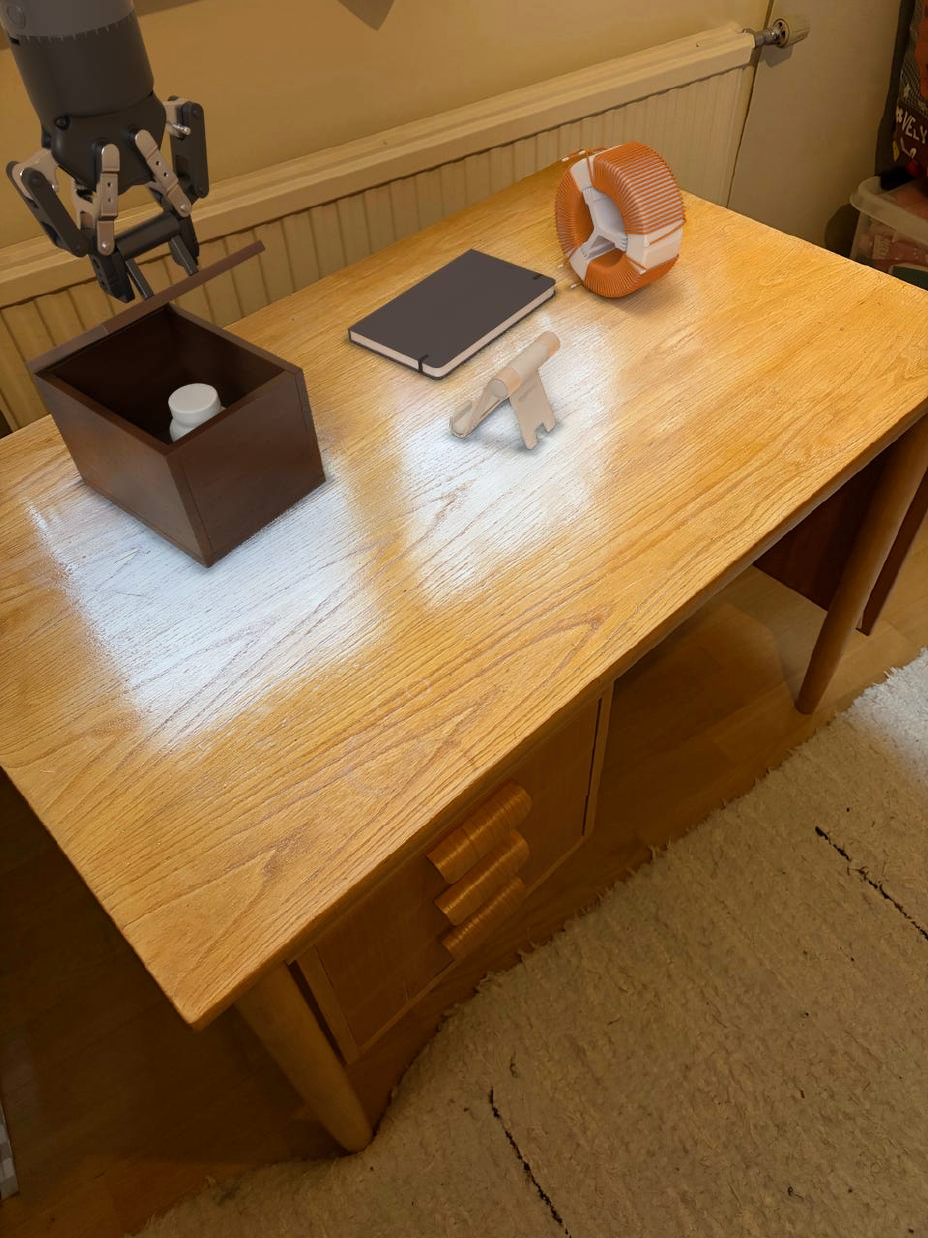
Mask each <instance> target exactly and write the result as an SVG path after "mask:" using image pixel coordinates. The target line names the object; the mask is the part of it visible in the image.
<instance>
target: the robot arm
mask: <svg viewBox="0 0 928 1238" xmlns="http://www.w3.org/2000/svg"><path fill="white" fill-rule="evenodd" d="M0 25H1V28H2V30H3V32H4V36H5V39H6V41H7V44H8V47H9V49H10V51H11V55H12V57H13V60H14V62H15V66H16V67H17V70H18V72H19V75H20V78H21V80H22V83H23V87H24V89H25V91H26V94H27V96H28V99H29V101H30V103H31V106H32V108H33V109H34V111H35V113H36V116H37V118H38V120H39V123H40V145H41V149H39V150H38V151H36V152H35V153H33V154H32V155H31V156H30V157H29V158H27V159H25V161H23V162H20V161H19V160H11V161H9V162H8V163H7V164H6V166H5V174H6V176H7V178H8V179H9V181H10V183H11V184H12V186H13V187H14V188H15V190H16V191H17V193H18V195H19V196H20V197H21V199H22V200H23V202H24V203H25V205H26V206H27V208H28V209H29V210H30V212H31V213H32V215H33V217H34V218H35V219H36V221H37V222H38V224H39V226H40V227H41V229H42V230H43V232H44V233H45V234H46V236H47V237H48V239H49V240H50V242H51V243H52V244H53V246H55V247H57V248H58V249H61V250H64V251H66V252H67V253H69V254H71V255H72V256H74V257H76V258H78V259H82V258H85V257H86V256H88V259H89V261H90V264H91V267H92V270H93V272H94V274H95V277H96V279H97V283H98V285H99V287H100V289H101V290H102V291H103V292H104V294H107V295H109V296H110V297H113V298H114V299H116V300H118V301H120V302H122V303H124V304H125V305H126V304H129V303H130V302H133V301H134V300H136V294H135V291H134V288H133V286H132V283H131V279H130V276H129V275H128V273H127V271H126V268H125V265H124V262H123V260H122V257H121V254H120V251H118V250H116V249H114V247H115V243H114V235H115V220H117V219H118V217H119V197H120V196H122V195H124V194H125V193H126V192H127V191H128V190H130V189H131V188H132V187H135V186H137V187H138V186H144V187H145V189H146V190H147V192H148V193H149V194H150V196H151V197H152V199H153V200H154V201H155V203H156V204H157V206H158V207H159V208H161V209H162V211H161V212H159V213H158V214H160V213H162V212H164V211H169V212H171V213H172V214H173V215H174V216H175V218H176V219H177V221H178V223H179V225H180V228H181V234H180V238H181V239H182V241H183V243H184V245H185V246H186V248H187V250H188V252H189V253H190V255H191V257H192V259H193V260H194V262H195V264H196V266H197V267H198V266H199V261H198V257H200V252H201V251H200V245H199V241H198V237H197V235H196V229H195V226H194V223H193V218H192V215H191V214H192V210H193V205H194V204H195V203H196V202H197V201H198V200H199V199H205V198H207V197H208V195H209V194H210V179H209V177H210V176H209V167H208V166H209V165H208V153H207V152H208V151H207V138H206V137H207V135H206V124H205V111H204V107H203V106H202V104H200V103H198V102H195V101H192V100H190V99H186V98H183V97H180V96H178V95H174V94H173V95H170V96H169V97H168V98H167V100H166V101H161V99H160V98H159V97H158V96H157V94H156V93H155V90H154V85H155V78H154V74H153V70H152V67H151V63H150V60H149V59H150V58H149V55H148V51H147V48H146V45H145V41H144V38H143V34H142V30H141V27H140V23H139V18H138V16H137V13H136V9H135V4H134V1H133V0H0ZM165 131H166V132H167V134H168V136H169V145H170V156H171V165H170V164H169V163H168V161H167V160H166V158H165V157H164V155H163V153H161V149H162V145H163V140H164V134H165ZM171 166H172V168H171ZM58 168H59V169H60V170H62V171H63V172H64V173H65V174H67V175H69V181H70V201H71V204H72V206H73V208H74V210H75V215H76V216H75V218H76V223H75V221H74V220H73V218H72V216H71V215H70V213H69V212H68V210H67V208H66V207H65V206H64V204H63V202H62V200H61V199H60V197H59V196H58V194H57V193H59V191H60V190H61V188H60V185H59V181H58V179H57V175H56V174H57V173H56V172H57V169H58ZM94 193H95V194H96V196H95V195H94ZM167 246H168V249H169V252H170V255H171V258H172V260H173V262H174V263H175V264H176V265H177V266H180V267H182V268H184V267H183V266H182V264H181V262H180V261H179V259H178V257H177V255H176V254H175V252H174V250H173V248H172V247H171V245H170V243H169V241H168V242H167Z"/></svg>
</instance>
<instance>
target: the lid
mask: <svg viewBox="0 0 928 1238" xmlns="http://www.w3.org/2000/svg"><path fill="white" fill-rule="evenodd" d="M161 212H162V213H161ZM161 212H159V213H160V214H159V213H157V214H156V215H153V216H151V217H149V218H147V219H145V220H143V221H141V222H138V223H137V224H135V225H132V226H130V227H128V228H126V229H124V230H122V231H120V232H118V233H115V234H114V243H115V247H114V249H116V250H118V251H120V254H121V257H122V260H123V262H124V265H125V268H126V271H127V274H128V277H129V279H130V281H132V283H133V285H134V286H135V288H136V289H137V291H138V293H139V295H140V297H141V298H142V299H143V300H141V301H139V302H137V303H135V304H133V305H131V306H130V307H128V308H126V309H124V310H122V311H120V312H118V313H116V314H114V315H113V316H111V317H108V318H107V319H105V320H103V321H101V322H99V323H97V324H96V325H94V326H92V327H90V328H88V329H86V330H84V331H82V332H81V333H78V334H77V335H75V336H73V337H71V338H69V339H67V340H66V341H63V342H61V343H59V344H58V345H56V346H53V347H52V348H51V349H48V350H46V351H45V352H43V353H41V354H39V355H37V356H35V357H33V358H31V359H30V360H27V361H25V363H24V364H25V365H26V367H27V368H28V369H29V371H30V373H31V372H33V371H34V370H36V369H38V368H40V367H42V366H44V365H47V364H49V363H51V362H53V361H55V360H57V359H59V358H61V357H63V356H65V355H67V354H70V353H72V352H74V351H76V350H78V349H80V348H82V347H84V346H86V345H88V344H90V343H93V342H95V341H97V340H99V339H101V338H103V337H105V336H107V335H109V334H111V333H113V332H115V331H117V330H118V329H120V328H122V327H124V326H126V325H128V324H130V323H131V322H133V321H135V320H137V319H139V318H141V317H143V316H144V315H146V314H148V313H150V312H152V311H154V310H155V309H157V308H159V307H161V306H163V305H165V304H167V303H168V302H171V301H174V300H176V299H178V298H180V297H181V296H183V295H185V294H187V293H189V292H191V291H193V290H194V289H196V288H198V287H200V286H202V285H204V284H205V283H207V282H209V281H211V280H213V279H215V278H217V277H219V276H220V275H223V274H224V273H225V272H228V271H230V270H231V269H233V268H234V267H237V266H239V265H241V264H243V263H245V262H247V261H249V260H250V259H251V258H254V257H256V256H258V255H259V254H261V253H263V252H265V251H266V250H267V249H266V247H265V244H264V243H263V241H262V239H258V240H256V241H254V242H253V243H250V244H248V245H246V246H244V247H242V248H240V249H239V250H236V251H234V252H233V253H231V254H229V255H227V256H225V257H224V258H221V259H219V260H218V261H216V262H214V263H212V264H210V265H208V266H206V267H204V268H202V269H199V267H198V266H196V264H195V262H194V260H193V259H192V257H191V255H190V253H189V252H188V250H187V248H186V246H185V245H184V243H183V241H182V239H181V238H180V234H181V228H180V225H179V223H178V221H177V219H176V218H175V216H174V215H173V214H172V213H171V212H169V211H164V212H163V211H161ZM168 241H169V243H170V245H171V247H172V248H173V250H174V252H175V254H176V255H177V257H178V259H179V261H180V262H181V264H182V266H183V267H182V266H181V267H182V268H183V270H184V272H185V273H186V275H187V277H185V278H183V279H181V280H179V281H177V282H175V283H173V284H172V285H169V286H167V287H165V288H163V289H162V290H160V291H158V292H156V293H155V292H154V291H153V288H152V287H151V284H149V282H148V281H147V279H146V277H145V276H144V274H143V272H142V270H141V269H140V267H139V265H138V264H137V262H136V260H135V259H136V258H138V257H140V256H143V255H144V254H146V253H148V252H151V251H152V250H155V249H156V248H159V247H161V246H162V245H164V244H166V243H168Z"/></svg>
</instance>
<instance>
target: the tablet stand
mask: <svg viewBox="0 0 928 1238" xmlns="http://www.w3.org/2000/svg"><path fill="white" fill-rule="evenodd" d="M560 349H561V340H560V337H559V336H558V335H557V334H556V333H555V332H553V331H551V330H546V331H543V332H542V333H540V335H539V336H537V338H535V339H534V340H533V341H532V342H531V343H529V345H527V346H526V347H525V348H524V349H523V350H522V351H521V352H520V353H519V354H517V355H516V356H515V357H514V358H513V359H512V360H511V361H510V362H508V363H507V364H506V365H505V366H504V367H503V368H502V369H500V370H499V372H497V373H496V374H495V375H494V376H492V377H491V379H490V380H488V382H486V384H485V385H483V389H482V393H480V395H478V396H477V397H476V398H475V399H474V400H473V401H472V400H471V399H468V400H467V401H465V402H464V403H463V404H462V405H461V406H460V407H459V408H457V410H455V411H454V412H453V413H452V414H451V415H449V429H450V431H451V433H452V434H453V435H454V436H455V437H458V438H465V437H466V436H467V435H469V434H470V433H471V432H472V431H474V430H475V427H477V426H478V425H479V424H480V423H481V422H482V421H484V419H485V418H486V417H487V416H489V415H490V414H491V413H492V412H493V411H494V410H495V409H496V408H497V407H498V406H499V405H500V404H502V403H503V401H505V400H507V399H509V402H510V405H511V409H512V411H513V414H514V416H515V420H516V421H517V425H518V427H519V430H520V433H521V435H522V438H523V441H524V443H525V446H526V449H527V450H532V449H534V448H535V447H536V446H537V445H538V443H539V442H538V439H537V434H536V429H538V427H540V425H543V426H544V428H545V430H546V432H547V433H550V432H551V431H552V429H554V428H555V426H556V419H555V416H554V414H553V410H552V408H551V404H550V401H549V398H548V396H547V393H546V389H545V386H544V383H543V381H542V378H541V377H542V376H541V375H540V371H539V369H540V368H541V367H542V366H543V365H544V364H545V363H547V362H548V361H549V360H550V359H551V358H553V356H555V354H556V353H558V352H559V350H560Z"/></svg>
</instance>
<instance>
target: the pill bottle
mask: <svg viewBox="0 0 928 1238" xmlns="http://www.w3.org/2000/svg"><path fill="white" fill-rule="evenodd" d="M169 407H170V410H171V413H172V416H173V420H172V422H171V424H170V435H171V438H172V441H173V442H174V441H176V440H177V439H179V438H180V437H182V436H183V435H185V434H187V433H188V432H190V431H191V430H193V429H194V428H196V427H198V426H199V425H201V424H202V423H204V422H205V421H207V420H209V419H210V418H212V417H213V416H215V415H216V414H218V413H220V412H221V411H223V410H224V409H226V408H224V407H222V406H221V402H220V400H219V397H218V394H217V392H216V390H215V389H214V388H213V387H212V386H210V385H206V384H190V385H186V386H184V387H181V388H179V389H178V390H176V391H175V392H174V393H173V394H172V395H171V396H170V398H169Z"/></svg>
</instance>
